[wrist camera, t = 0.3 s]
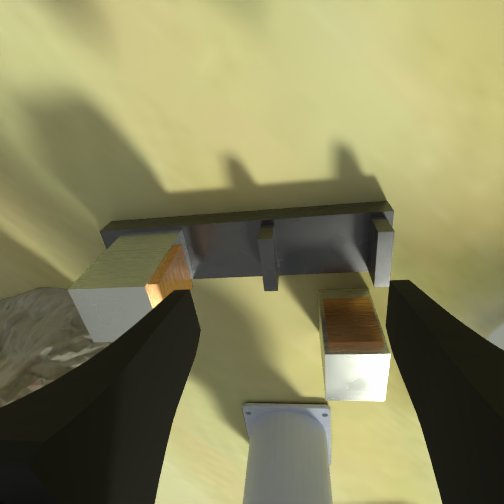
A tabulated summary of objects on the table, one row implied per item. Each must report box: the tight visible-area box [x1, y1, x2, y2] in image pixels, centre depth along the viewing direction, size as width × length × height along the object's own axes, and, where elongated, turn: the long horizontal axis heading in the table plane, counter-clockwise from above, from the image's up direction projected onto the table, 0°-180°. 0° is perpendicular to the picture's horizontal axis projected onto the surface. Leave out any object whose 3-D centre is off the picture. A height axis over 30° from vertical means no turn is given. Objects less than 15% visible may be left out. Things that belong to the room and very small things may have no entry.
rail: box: [68, 201, 395, 342], centre depth 19 cm, size 18×4×8 cm, turn 97°
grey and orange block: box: [318, 289, 390, 401], centre depth 22 cm, size 4×4×6 cm
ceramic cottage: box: [0, 287, 113, 407], centre depth 25 cm, size 16×16×15 cm
